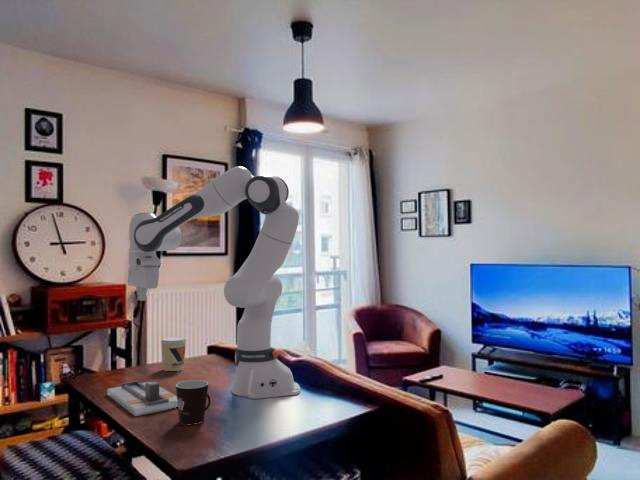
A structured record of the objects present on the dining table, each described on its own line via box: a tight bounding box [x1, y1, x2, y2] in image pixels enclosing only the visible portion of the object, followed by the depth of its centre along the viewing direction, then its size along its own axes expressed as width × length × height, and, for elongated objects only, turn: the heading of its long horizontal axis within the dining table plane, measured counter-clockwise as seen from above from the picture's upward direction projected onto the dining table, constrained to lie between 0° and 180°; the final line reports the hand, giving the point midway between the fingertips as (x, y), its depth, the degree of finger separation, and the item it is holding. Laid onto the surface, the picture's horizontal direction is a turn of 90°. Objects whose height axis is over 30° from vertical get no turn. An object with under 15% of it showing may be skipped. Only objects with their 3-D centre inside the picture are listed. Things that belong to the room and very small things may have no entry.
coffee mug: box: [175, 379, 211, 425], centre depth 132 cm, size 12×9×10 cm
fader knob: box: [145, 381, 160, 401], centre depth 146 cm, size 4×3×4 cm
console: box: [107, 380, 178, 417], centre depth 151 cm, size 26×14×3 cm, turn 39°
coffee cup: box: [160, 336, 187, 372], centre depth 191 cm, size 9×9×12 cm
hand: (141, 300), depth 168 cm, fingers closed
